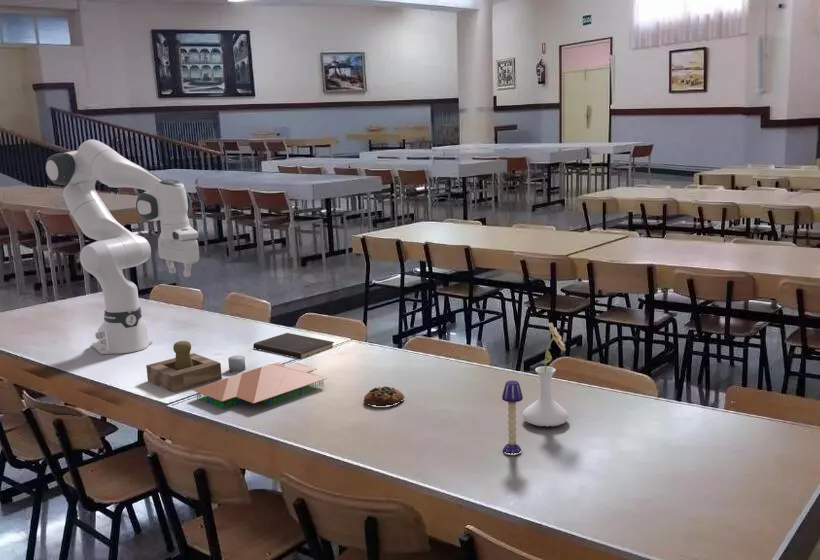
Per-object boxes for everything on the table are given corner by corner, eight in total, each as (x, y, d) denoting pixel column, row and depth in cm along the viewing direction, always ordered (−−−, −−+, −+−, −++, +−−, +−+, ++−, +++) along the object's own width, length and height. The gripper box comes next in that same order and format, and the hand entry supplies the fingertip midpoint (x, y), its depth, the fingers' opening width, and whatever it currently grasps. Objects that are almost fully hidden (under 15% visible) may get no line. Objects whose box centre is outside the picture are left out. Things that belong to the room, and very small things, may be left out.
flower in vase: (558, 434, 188) (558, 333, 183) (514, 425, 194) (514, 328, 189) (577, 416, 199) (578, 321, 194) (535, 408, 205) (535, 316, 200)
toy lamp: (500, 447, 181) (499, 379, 178) (520, 446, 182) (520, 378, 178) (504, 456, 177) (504, 386, 173) (525, 455, 177) (524, 385, 174)
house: (334, 386, 229) (333, 359, 227) (240, 419, 205) (238, 390, 204) (286, 371, 244) (284, 346, 243) (193, 400, 221) (190, 373, 219)
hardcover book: (287, 338, 281) (286, 332, 281) (334, 348, 268) (333, 341, 267) (253, 349, 269) (253, 343, 269) (300, 360, 255) (300, 353, 255)
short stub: (226, 370, 246) (225, 358, 245) (239, 366, 250) (238, 354, 249) (234, 373, 243) (233, 361, 242) (248, 369, 246) (247, 357, 245)
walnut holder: (147, 380, 238) (146, 365, 237) (195, 368, 249) (193, 353, 248) (173, 392, 227) (171, 376, 226) (221, 378, 238) (220, 363, 237)
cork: (189, 380, 234) (185, 344, 232) (170, 379, 236) (167, 344, 233) (198, 373, 240) (195, 339, 238) (181, 373, 241) (177, 338, 239)
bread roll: (373, 411, 207) (372, 392, 206) (357, 404, 217) (356, 386, 216) (411, 405, 212) (410, 386, 211) (393, 398, 222) (392, 380, 221)
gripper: (151, 230, 252) (155, 272, 255) (182, 235, 238) (186, 280, 241) (169, 228, 257) (173, 269, 260) (201, 233, 242) (204, 276, 245)
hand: (179, 274), depth 250 cm, fingers open, 8 cm apart
